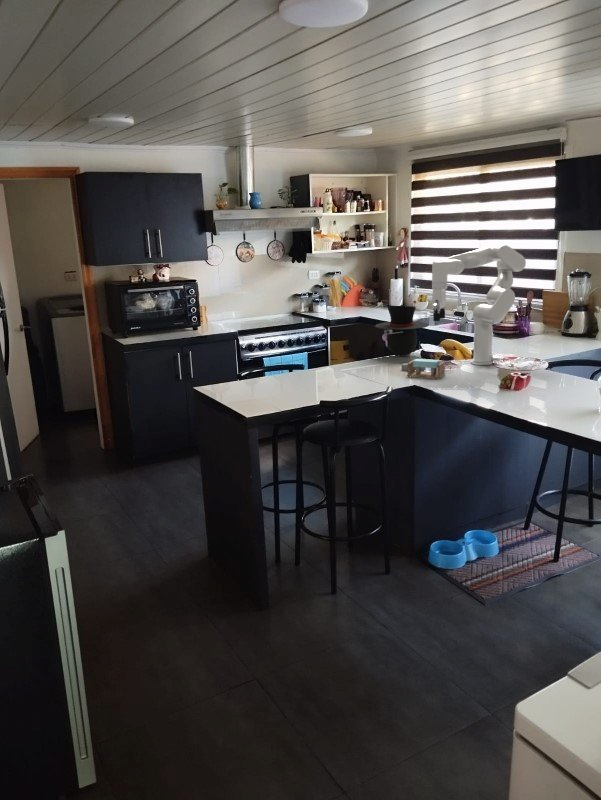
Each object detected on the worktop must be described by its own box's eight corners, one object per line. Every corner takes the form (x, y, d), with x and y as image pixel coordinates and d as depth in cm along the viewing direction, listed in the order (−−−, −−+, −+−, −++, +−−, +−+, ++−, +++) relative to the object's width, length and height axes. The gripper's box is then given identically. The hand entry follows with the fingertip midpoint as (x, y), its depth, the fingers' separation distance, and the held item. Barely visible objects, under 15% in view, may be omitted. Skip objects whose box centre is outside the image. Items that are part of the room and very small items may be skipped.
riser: (425, 370, 326) (425, 364, 325) (423, 371, 323) (423, 365, 323) (403, 368, 332) (403, 363, 331) (401, 370, 329) (401, 364, 328)
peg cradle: (445, 375, 314) (445, 361, 312) (440, 379, 306) (440, 365, 304) (412, 373, 321) (412, 359, 319) (406, 376, 314) (406, 363, 312)
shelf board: (439, 365, 312) (439, 360, 311) (436, 368, 307) (436, 362, 306) (416, 364, 317) (416, 358, 317) (412, 366, 313) (412, 360, 312)
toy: (376, 351, 383) (376, 302, 375) (428, 350, 377) (428, 300, 370) (374, 361, 354) (373, 308, 346) (429, 360, 348) (429, 307, 340)
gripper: (437, 284, 324) (436, 317, 328) (427, 287, 309) (427, 321, 314) (451, 284, 321) (450, 317, 325) (442, 287, 306) (441, 322, 310)
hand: (439, 319), depth 319 cm, fingers open, 9 cm apart
